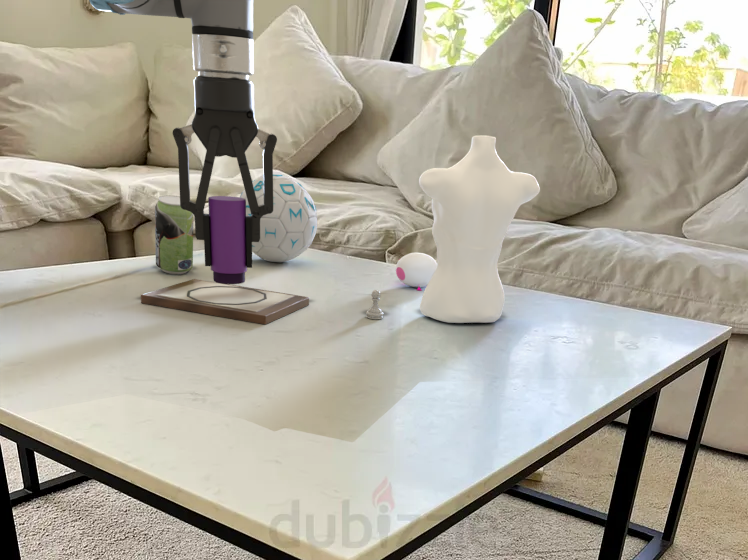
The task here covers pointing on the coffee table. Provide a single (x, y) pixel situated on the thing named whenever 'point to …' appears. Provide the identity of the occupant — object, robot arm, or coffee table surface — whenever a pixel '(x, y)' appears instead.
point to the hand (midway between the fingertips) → (228, 264)
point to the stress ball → (416, 269)
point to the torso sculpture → (471, 232)
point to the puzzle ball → (284, 220)
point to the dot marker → (228, 239)
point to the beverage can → (173, 236)
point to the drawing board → (226, 301)
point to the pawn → (375, 307)
